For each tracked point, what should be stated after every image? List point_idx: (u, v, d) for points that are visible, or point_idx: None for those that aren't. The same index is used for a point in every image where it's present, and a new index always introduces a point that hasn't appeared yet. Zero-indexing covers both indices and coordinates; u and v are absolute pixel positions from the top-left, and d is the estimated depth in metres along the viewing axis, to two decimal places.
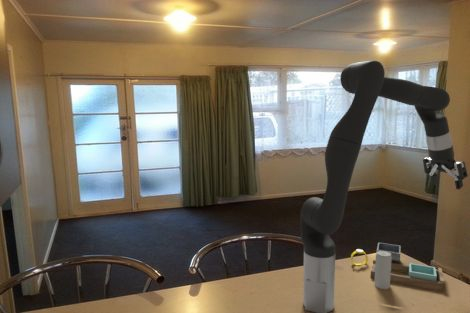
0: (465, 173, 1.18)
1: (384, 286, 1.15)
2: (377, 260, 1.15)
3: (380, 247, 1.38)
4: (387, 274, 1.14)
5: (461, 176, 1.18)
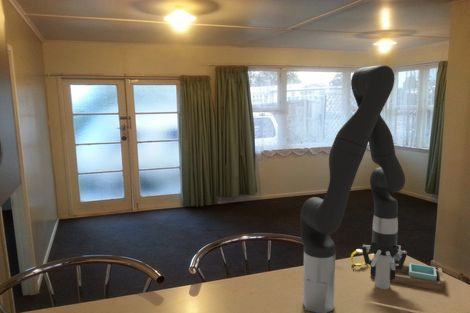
0: None
1: (384, 286, 1.15)
2: (377, 260, 1.15)
3: None
4: (387, 274, 1.14)
5: (400, 265, 1.13)
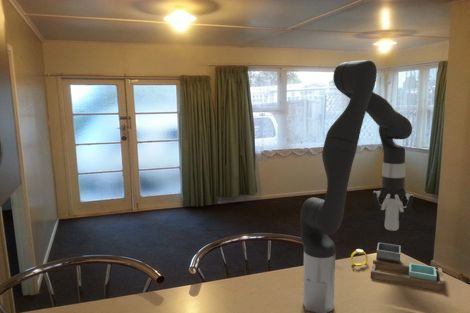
0: None
1: (393, 226, 1.27)
2: (387, 203, 1.27)
3: (380, 247, 1.38)
4: (396, 215, 1.26)
5: (407, 207, 1.24)
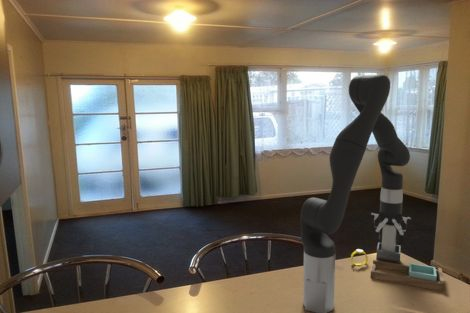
0: None
1: None
2: (384, 230, 1.31)
3: (380, 247, 1.38)
4: (392, 242, 1.30)
5: (408, 230, 1.28)
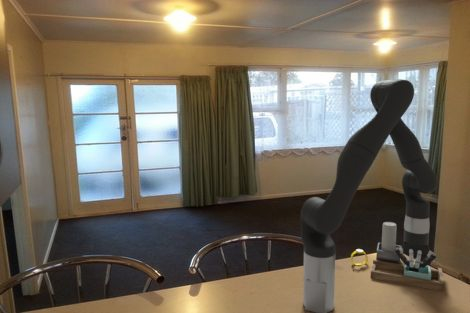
0: None
1: None
2: (384, 230, 1.31)
3: (380, 247, 1.38)
4: (392, 242, 1.30)
5: (423, 264, 1.18)
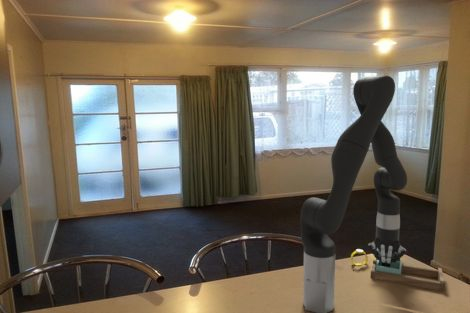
0: None
1: None
2: None
3: None
4: None
5: (394, 259, 1.22)
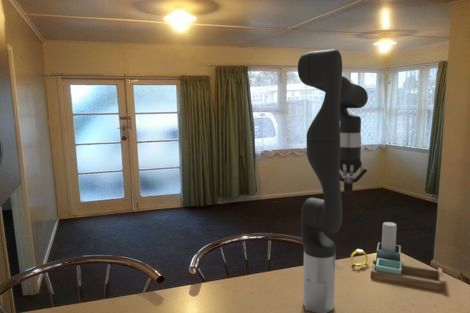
0: None
1: None
2: (384, 230, 1.31)
3: (380, 247, 1.38)
4: (392, 242, 1.30)
5: (356, 178, 1.24)
